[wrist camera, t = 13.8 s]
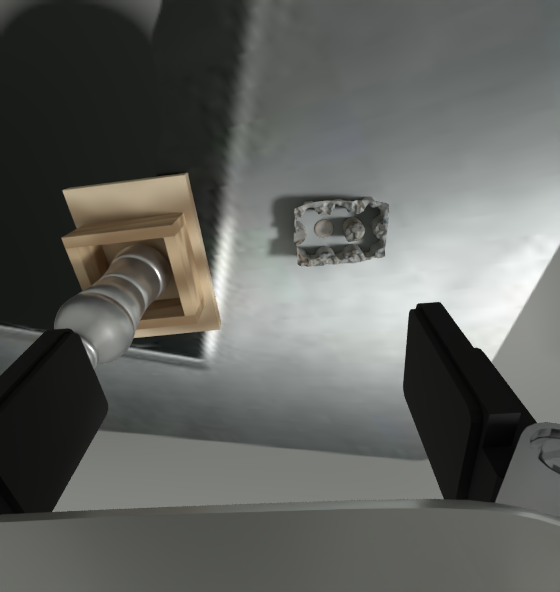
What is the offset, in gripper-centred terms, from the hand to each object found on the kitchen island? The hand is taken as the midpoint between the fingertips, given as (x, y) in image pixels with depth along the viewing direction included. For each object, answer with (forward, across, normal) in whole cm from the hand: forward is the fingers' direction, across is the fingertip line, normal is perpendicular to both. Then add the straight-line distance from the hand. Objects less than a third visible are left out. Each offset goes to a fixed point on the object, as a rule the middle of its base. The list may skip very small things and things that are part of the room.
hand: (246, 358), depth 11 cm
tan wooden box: (+35, +17, +10) cm, 40 cm away
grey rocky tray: (+36, -7, +8) cm, 37 cm away
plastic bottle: (+34, +17, +10) cm, 39 cm away
